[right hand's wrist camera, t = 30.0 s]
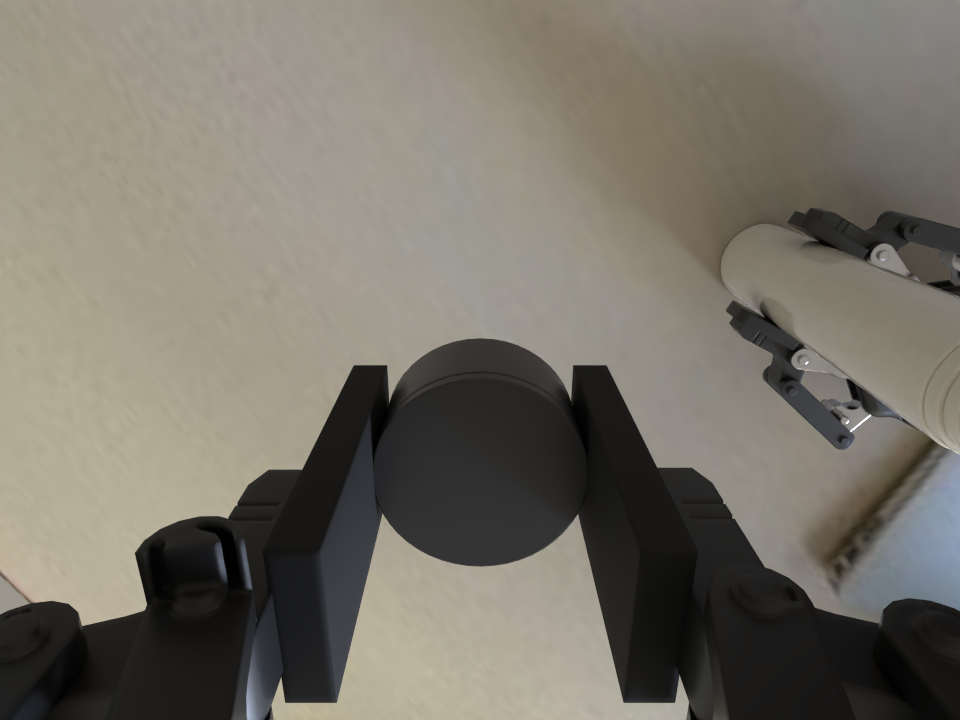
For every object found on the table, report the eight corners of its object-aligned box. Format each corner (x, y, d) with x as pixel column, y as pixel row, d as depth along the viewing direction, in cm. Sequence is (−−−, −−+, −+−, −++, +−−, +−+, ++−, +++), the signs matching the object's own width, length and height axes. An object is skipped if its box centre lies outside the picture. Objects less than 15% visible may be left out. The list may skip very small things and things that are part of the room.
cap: (362, 364, 14) (341, 409, 12) (550, 316, 14) (563, 354, 12) (419, 520, 16) (409, 585, 14) (589, 481, 15) (608, 542, 13)
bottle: (815, 252, 40) (1302, 462, 16) (760, 314, 41) (1134, 587, 18) (758, 207, 39) (1191, 362, 15) (703, 272, 40) (1022, 504, 17)
